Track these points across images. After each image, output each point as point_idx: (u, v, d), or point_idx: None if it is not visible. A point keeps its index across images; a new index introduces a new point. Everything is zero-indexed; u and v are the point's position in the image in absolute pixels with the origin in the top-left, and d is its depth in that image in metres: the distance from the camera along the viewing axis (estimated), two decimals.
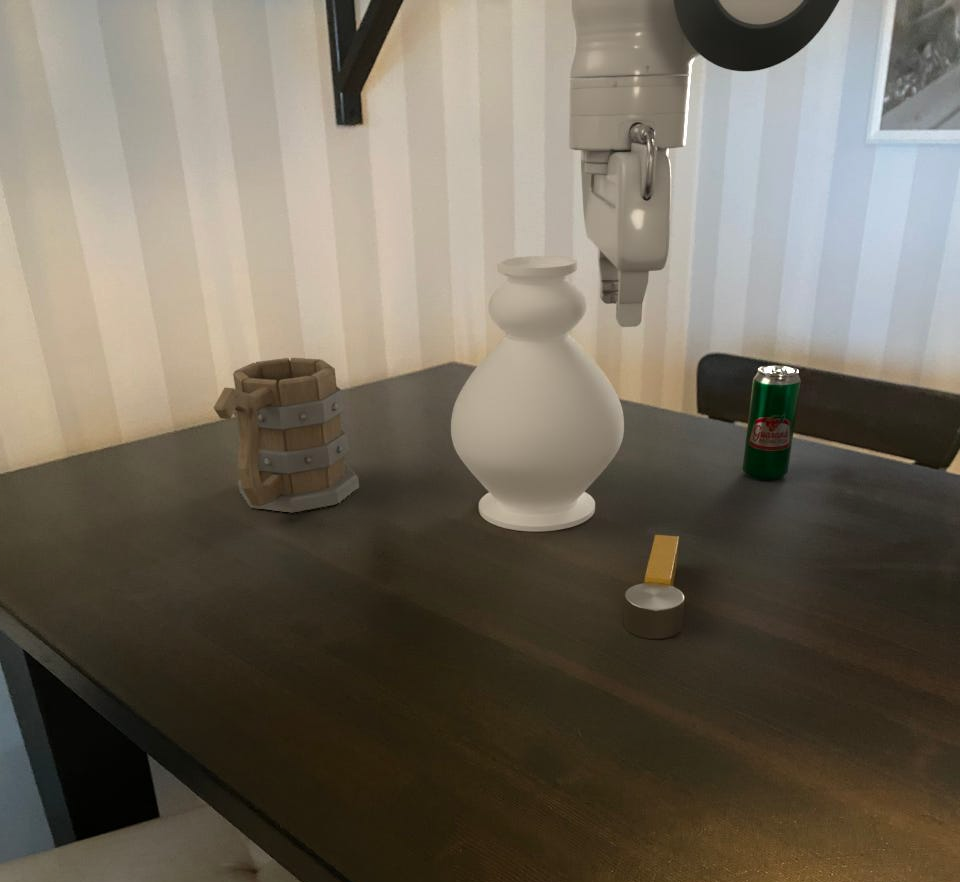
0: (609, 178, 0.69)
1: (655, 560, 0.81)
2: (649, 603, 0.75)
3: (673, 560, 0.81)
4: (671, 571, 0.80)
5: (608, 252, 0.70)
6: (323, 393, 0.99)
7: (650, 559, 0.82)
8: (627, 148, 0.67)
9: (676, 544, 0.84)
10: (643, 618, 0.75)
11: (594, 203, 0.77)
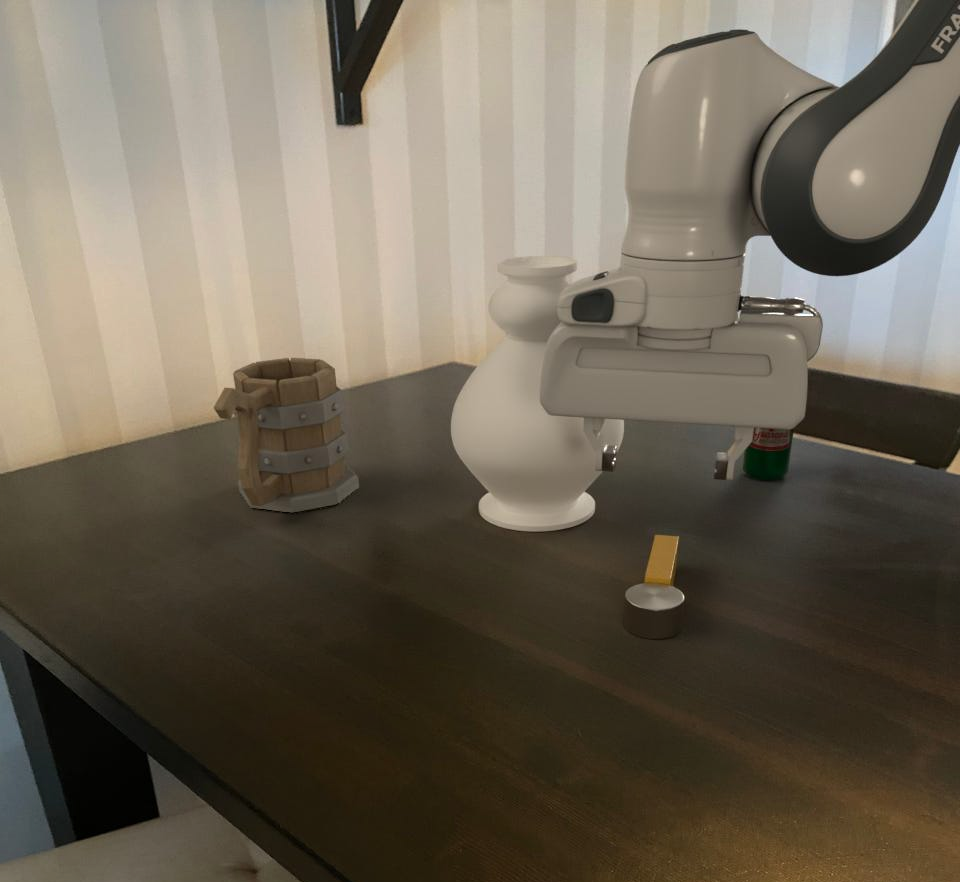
0: (726, 350, 0.68)
1: (655, 560, 0.81)
2: (649, 603, 0.75)
3: (673, 560, 0.81)
4: (671, 571, 0.80)
5: (736, 418, 0.70)
6: (323, 393, 0.99)
7: (650, 559, 0.82)
8: (736, 320, 0.68)
9: (676, 544, 0.84)
10: (643, 618, 0.75)
11: (614, 378, 0.71)
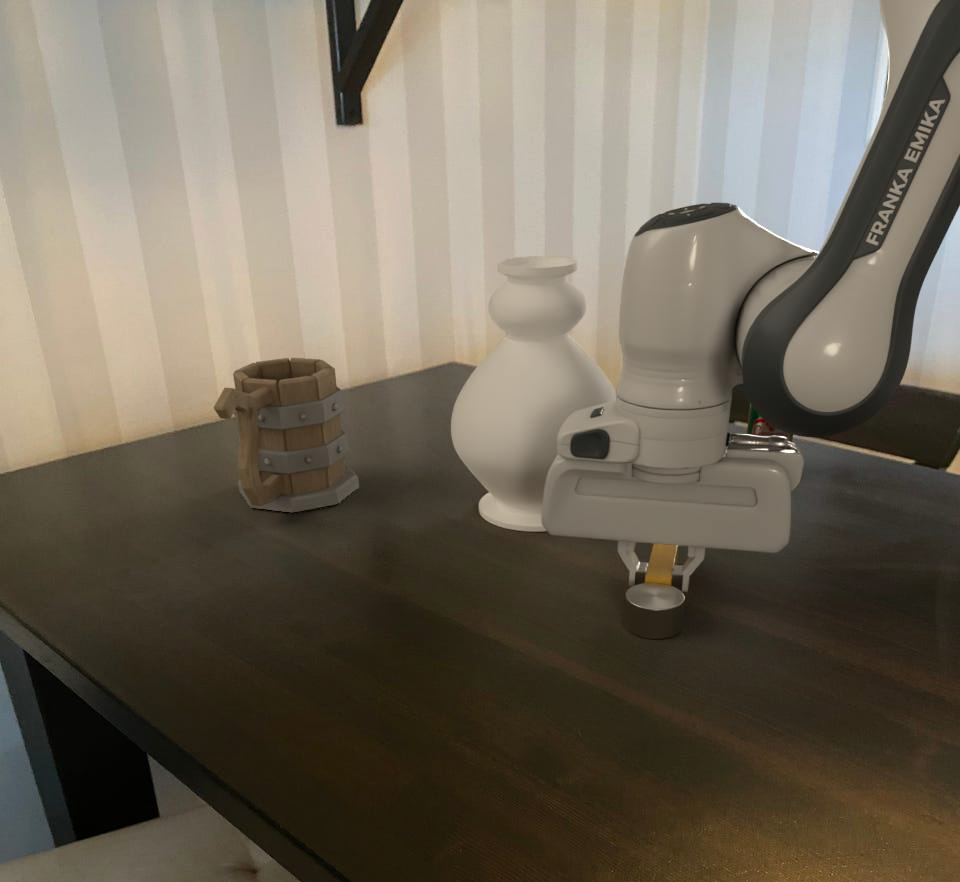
0: (715, 483, 0.73)
1: (655, 560, 0.81)
2: (649, 603, 0.75)
3: (673, 560, 0.81)
4: (671, 571, 0.80)
5: (725, 542, 0.75)
6: (323, 393, 0.99)
7: (650, 559, 0.82)
8: (724, 455, 0.73)
9: None
10: (643, 618, 0.75)
11: (610, 504, 0.76)
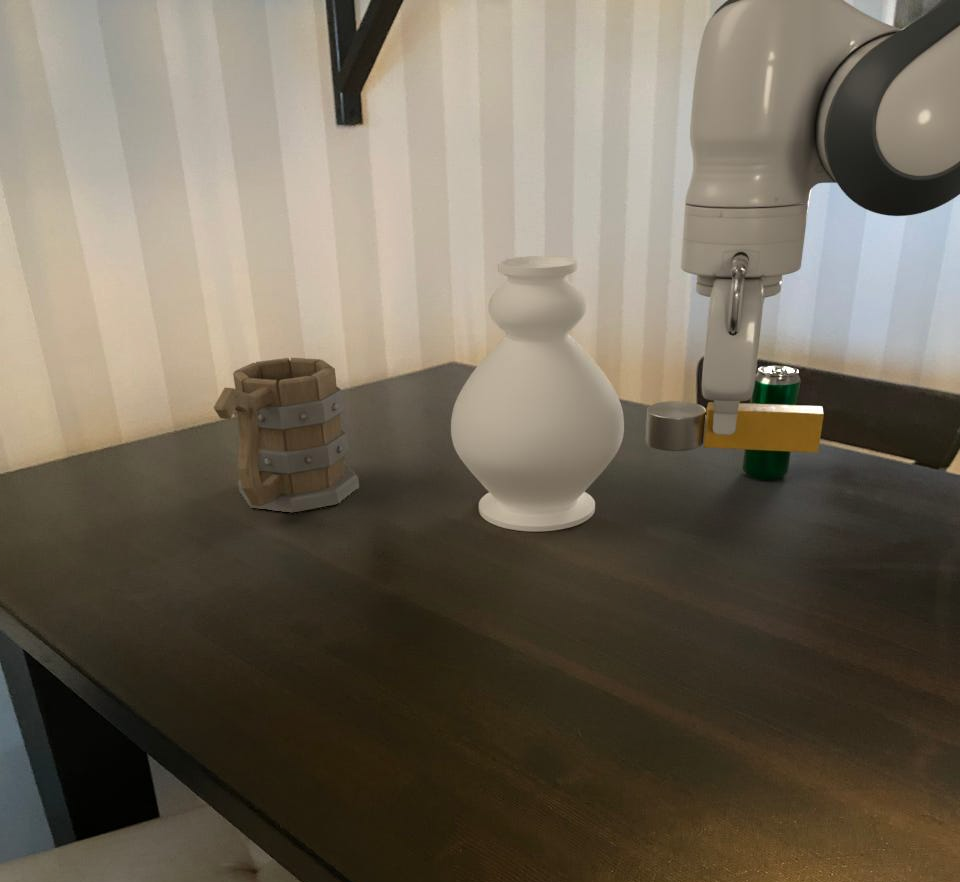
0: None
1: (749, 405, 0.76)
2: (657, 407, 0.78)
3: (754, 411, 0.75)
4: None
5: None
6: (323, 393, 0.99)
7: None
8: (729, 276, 0.67)
9: (799, 412, 0.74)
10: None
11: None
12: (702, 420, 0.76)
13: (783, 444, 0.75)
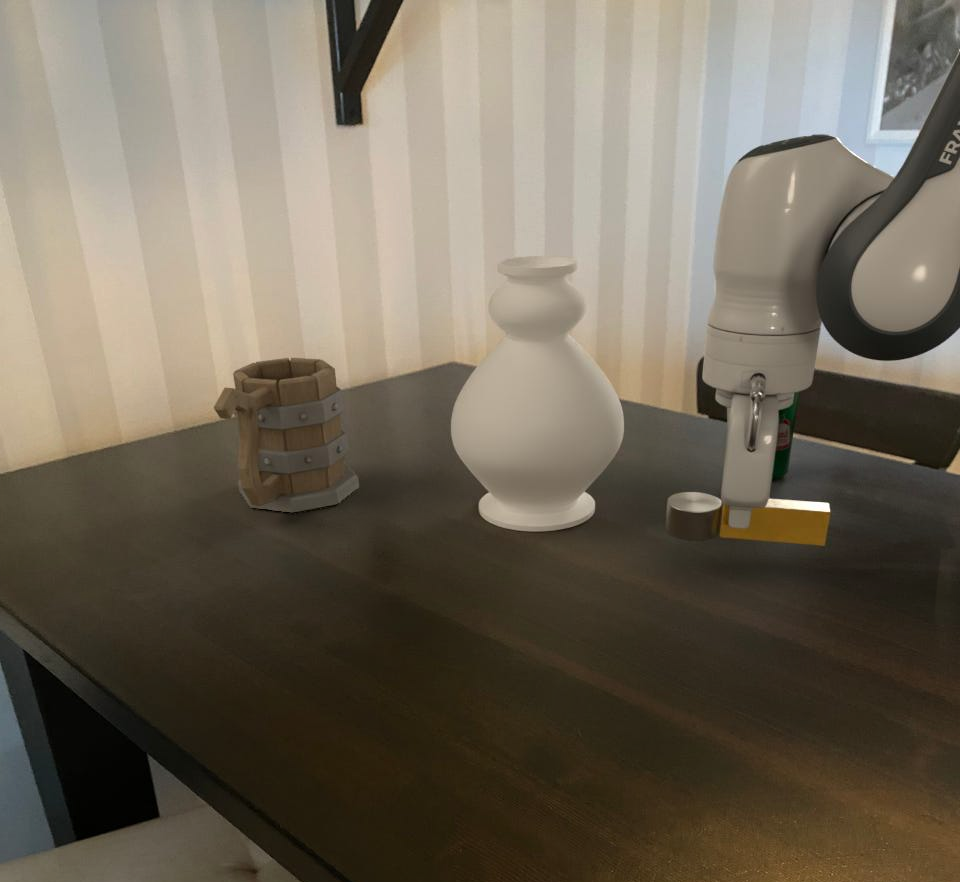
0: None
1: None
2: (677, 498, 0.84)
3: (766, 507, 0.81)
4: None
5: None
6: (323, 393, 0.99)
7: None
8: (748, 393, 0.74)
9: (808, 510, 0.80)
10: None
11: None
12: (718, 513, 0.83)
13: (793, 537, 0.82)
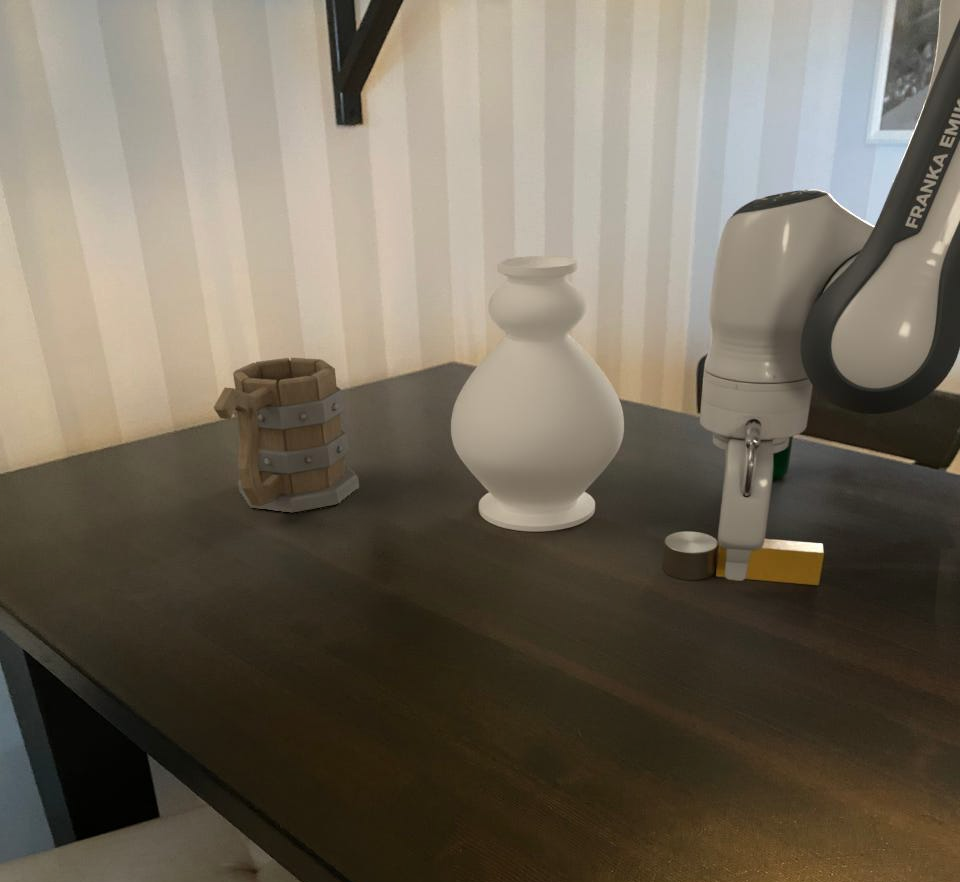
0: None
1: None
2: (674, 539, 0.86)
3: None
4: None
5: None
6: (323, 393, 0.99)
7: None
8: (743, 438, 0.76)
9: (802, 551, 0.82)
10: None
11: None
12: (714, 553, 0.85)
13: (787, 577, 0.84)
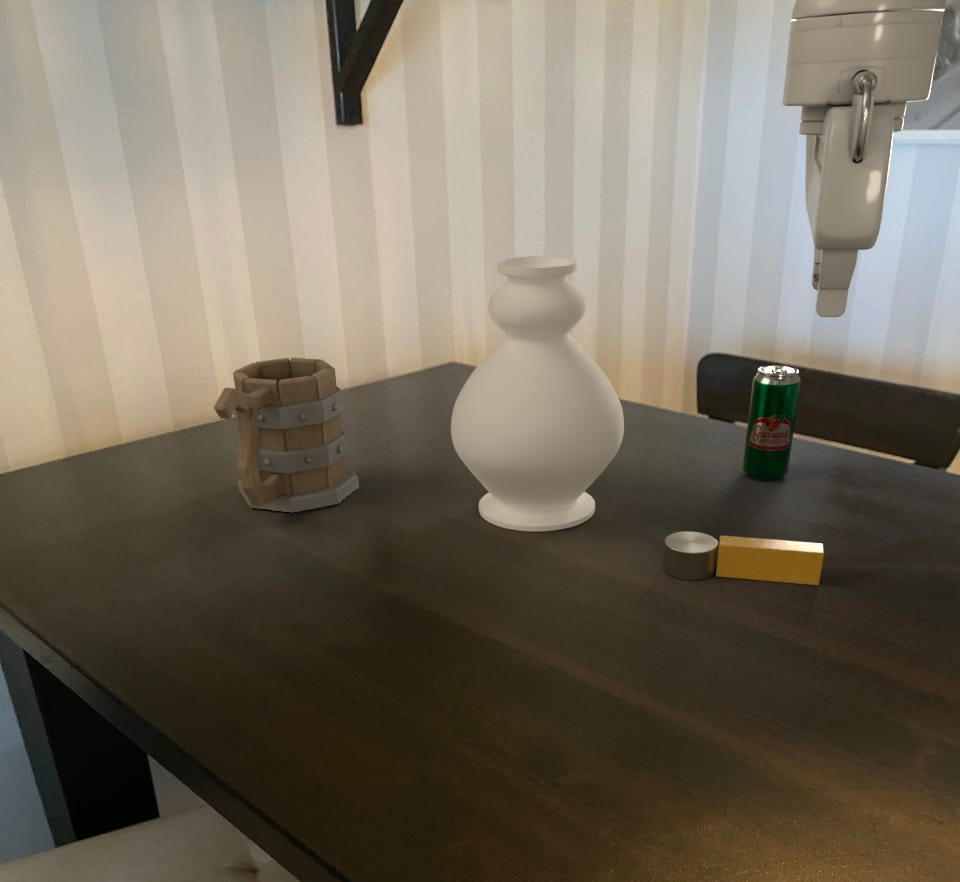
0: (822, 139, 0.58)
1: (757, 540, 0.84)
2: (674, 539, 0.86)
3: (761, 547, 0.83)
4: (736, 545, 0.84)
5: None
6: (323, 393, 0.99)
7: None
8: (847, 102, 0.56)
9: (802, 551, 0.82)
10: None
11: (813, 171, 0.66)
12: (714, 553, 0.85)
13: (787, 577, 0.84)
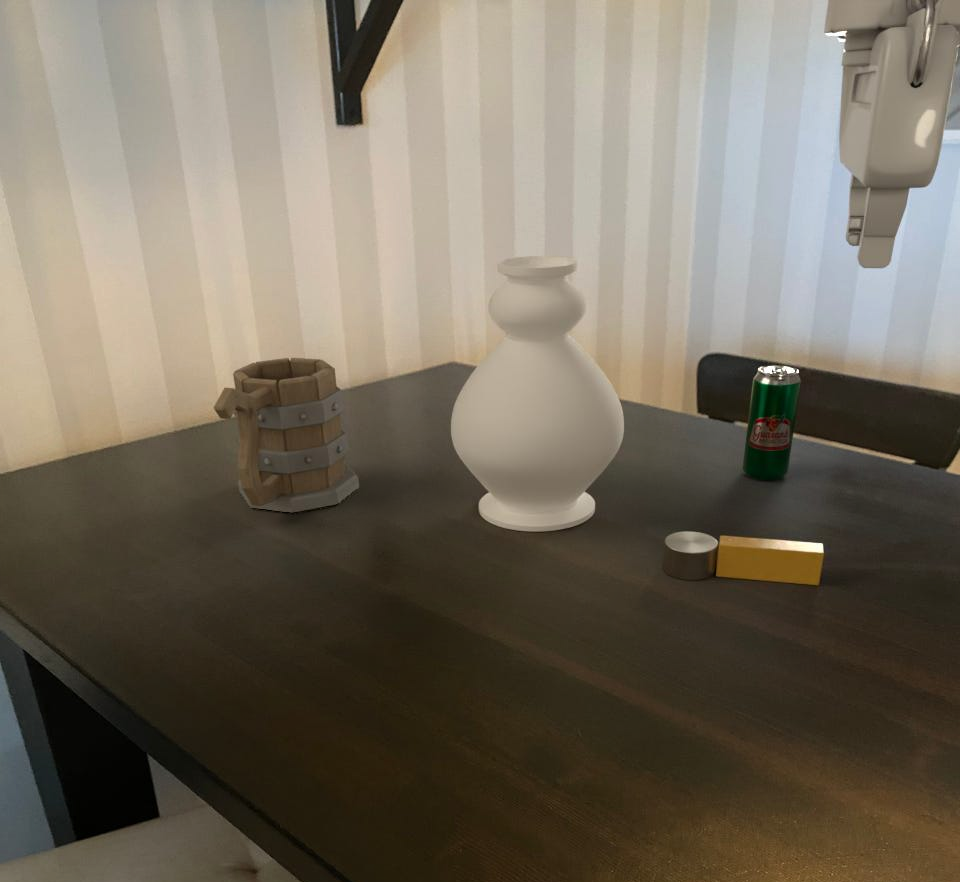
0: (871, 67, 0.52)
1: (757, 540, 0.84)
2: (674, 539, 0.86)
3: (761, 547, 0.83)
4: (736, 545, 0.84)
5: (856, 167, 0.54)
6: (323, 393, 0.99)
7: None
8: (901, 24, 0.51)
9: (802, 551, 0.82)
10: None
11: (852, 113, 0.60)
12: (714, 553, 0.85)
13: (787, 577, 0.84)
